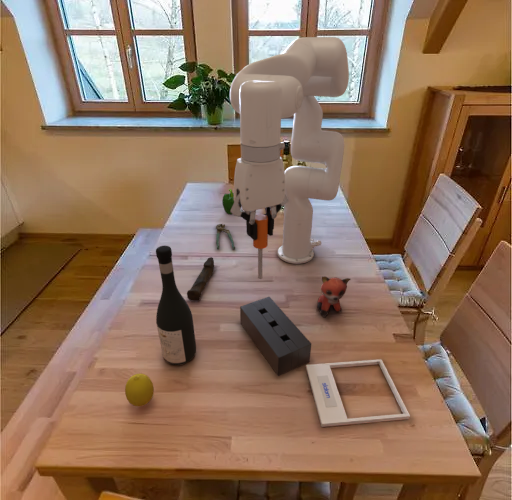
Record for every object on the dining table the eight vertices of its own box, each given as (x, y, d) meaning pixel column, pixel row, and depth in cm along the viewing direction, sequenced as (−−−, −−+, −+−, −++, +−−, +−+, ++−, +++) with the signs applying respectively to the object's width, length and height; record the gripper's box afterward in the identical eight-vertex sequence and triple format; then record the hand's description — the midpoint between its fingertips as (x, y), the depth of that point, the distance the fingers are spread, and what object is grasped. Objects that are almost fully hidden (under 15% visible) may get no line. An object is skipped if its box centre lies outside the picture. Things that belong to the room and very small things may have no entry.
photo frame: (306, 364, 82) (381, 358, 83) (305, 367, 82) (380, 361, 84) (322, 423, 69) (410, 415, 71) (321, 426, 70) (409, 418, 71)
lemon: (132, 392, 77) (125, 367, 73) (158, 390, 77) (152, 365, 73) (126, 415, 72) (118, 390, 68) (154, 413, 72) (147, 387, 68)
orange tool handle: (262, 272, 85) (263, 212, 77) (269, 279, 83) (270, 218, 75) (251, 276, 84) (250, 215, 76) (257, 283, 82) (257, 221, 73)
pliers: (235, 250, 127) (235, 247, 127) (217, 251, 127) (216, 248, 126) (230, 225, 144) (230, 222, 143) (214, 226, 143) (214, 223, 142)
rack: (268, 313, 98) (269, 296, 95) (309, 361, 84) (311, 343, 81) (240, 323, 95) (239, 306, 92) (277, 376, 80) (278, 357, 77)
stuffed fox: (338, 294, 106) (343, 260, 99) (347, 319, 96) (353, 284, 90) (312, 294, 106) (316, 260, 99) (319, 320, 96) (324, 284, 90)
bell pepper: (241, 216, 151) (241, 194, 146) (222, 216, 151) (221, 194, 146) (242, 208, 158) (241, 187, 153) (224, 208, 158) (222, 187, 153)
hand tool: (200, 303, 102) (198, 290, 100) (187, 300, 103) (185, 288, 101) (221, 267, 118) (220, 255, 116) (210, 265, 119) (209, 254, 116)
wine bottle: (181, 372, 81) (163, 264, 66) (156, 358, 85) (133, 252, 69) (203, 350, 87) (191, 245, 71) (179, 337, 91) (163, 235, 75)
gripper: (285, 141, 74) (282, 220, 84) (213, 153, 67) (218, 237, 77) (306, 150, 68) (301, 233, 78) (230, 164, 62) (233, 253, 71)
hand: (260, 234), depth 77 cm, fingers closed on orange tool handle, 3 cm apart
